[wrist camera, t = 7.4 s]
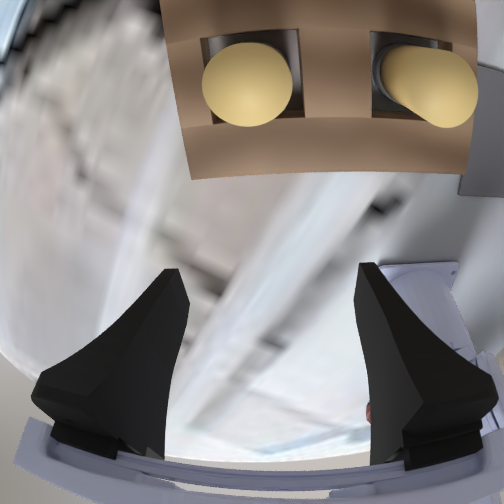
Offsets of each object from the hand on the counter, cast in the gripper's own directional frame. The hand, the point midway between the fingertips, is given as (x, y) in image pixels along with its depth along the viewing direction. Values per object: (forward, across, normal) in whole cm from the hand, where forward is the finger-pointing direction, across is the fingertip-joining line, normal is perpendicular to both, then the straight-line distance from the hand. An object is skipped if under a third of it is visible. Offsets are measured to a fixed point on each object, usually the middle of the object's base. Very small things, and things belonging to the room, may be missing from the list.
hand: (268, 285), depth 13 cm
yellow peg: (+10, -8, -7) cm, 15 cm away
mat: (+10, -19, -4) cm, 22 cm away
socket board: (+10, -4, -7) cm, 13 cm away
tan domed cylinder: (+10, 0, -7) cm, 13 cm away
